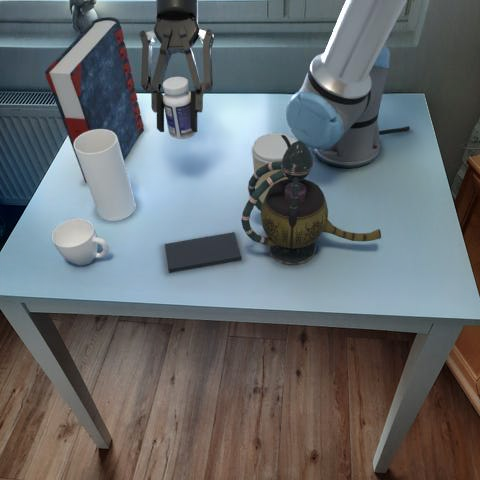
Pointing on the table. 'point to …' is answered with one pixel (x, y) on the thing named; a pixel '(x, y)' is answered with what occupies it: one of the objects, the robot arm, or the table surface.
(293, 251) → the teapot
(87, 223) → the cup
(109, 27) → the book
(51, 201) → the table surface
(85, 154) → the cup
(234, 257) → the mat
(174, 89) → the pill bottle
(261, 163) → the coffee cup
